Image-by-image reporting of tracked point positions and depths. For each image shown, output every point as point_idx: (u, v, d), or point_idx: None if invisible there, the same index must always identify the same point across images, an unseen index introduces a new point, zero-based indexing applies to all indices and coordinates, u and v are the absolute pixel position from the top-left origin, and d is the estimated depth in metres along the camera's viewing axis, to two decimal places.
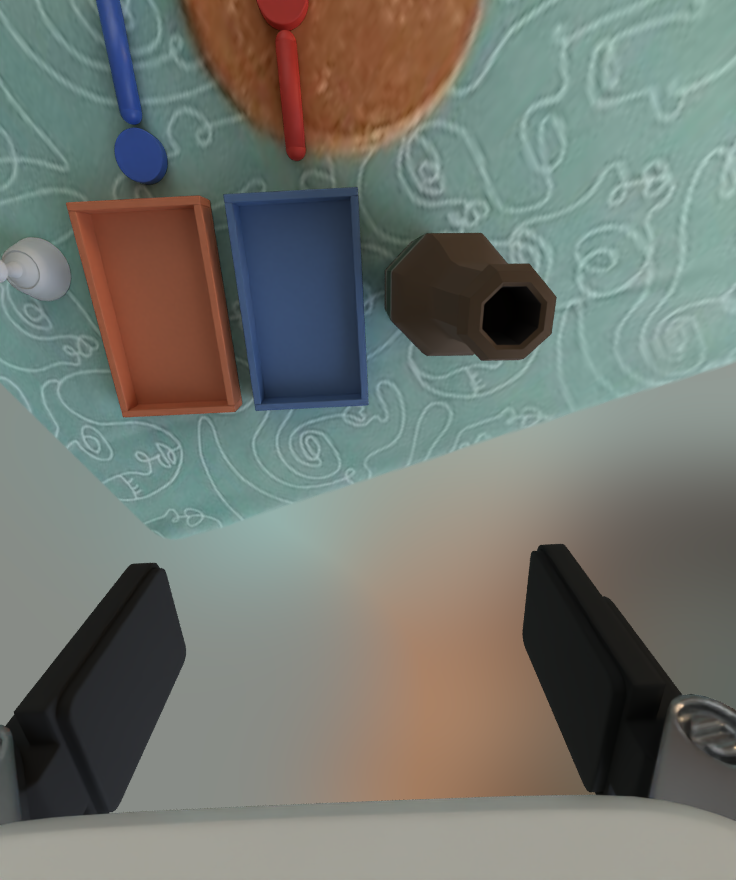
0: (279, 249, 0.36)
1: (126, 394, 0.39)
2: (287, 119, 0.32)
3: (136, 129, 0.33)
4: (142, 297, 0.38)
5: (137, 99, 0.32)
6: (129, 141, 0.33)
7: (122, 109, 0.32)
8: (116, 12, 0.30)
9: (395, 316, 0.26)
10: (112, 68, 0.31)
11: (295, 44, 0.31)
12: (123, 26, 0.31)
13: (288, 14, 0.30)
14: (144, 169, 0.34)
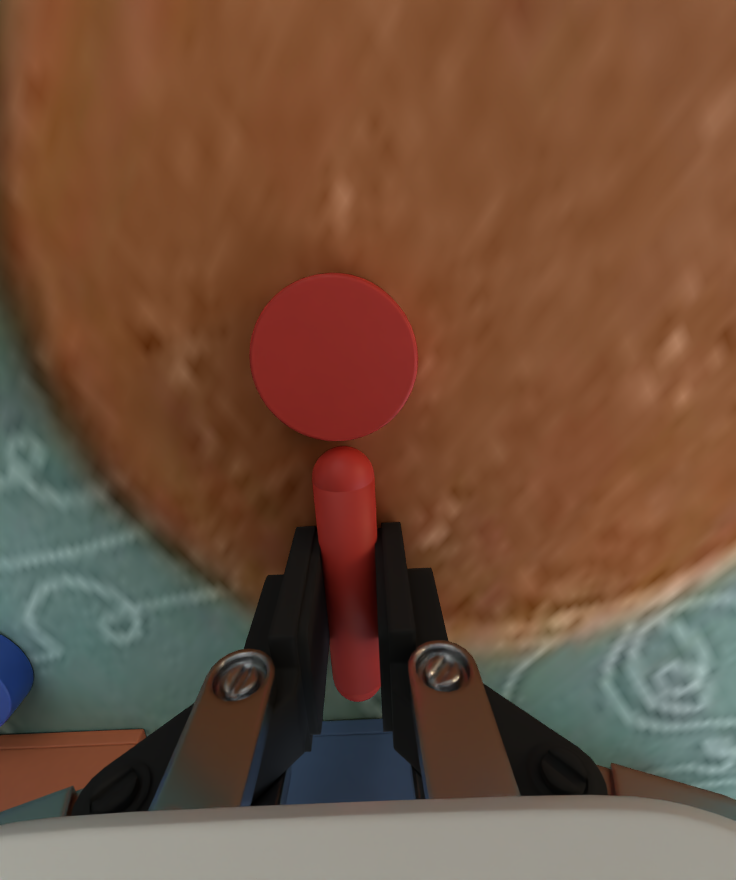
0: None
1: None
2: (341, 644, 0.12)
3: None
4: None
5: None
6: None
7: None
8: None
9: None
10: None
11: (372, 486, 0.10)
12: None
13: (354, 420, 0.10)
14: None
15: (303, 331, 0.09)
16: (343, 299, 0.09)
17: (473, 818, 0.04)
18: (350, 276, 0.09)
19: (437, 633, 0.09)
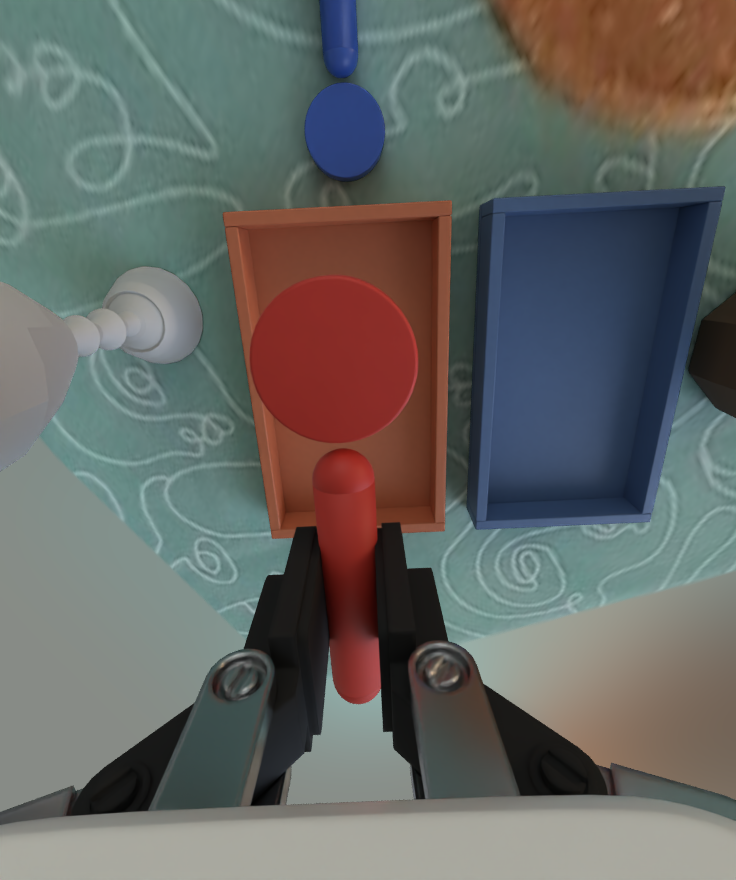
0: (545, 287, 0.23)
1: (279, 505, 0.25)
2: (341, 646, 0.12)
3: (348, 85, 0.19)
4: None
5: (356, 31, 0.18)
6: (333, 107, 0.19)
7: (332, 48, 0.18)
8: None
9: None
10: None
11: (372, 488, 0.10)
12: None
13: (354, 422, 0.10)
14: (351, 155, 0.20)
15: (303, 334, 0.09)
16: (344, 302, 0.09)
17: (473, 818, 0.04)
18: (350, 278, 0.09)
19: (437, 633, 0.09)
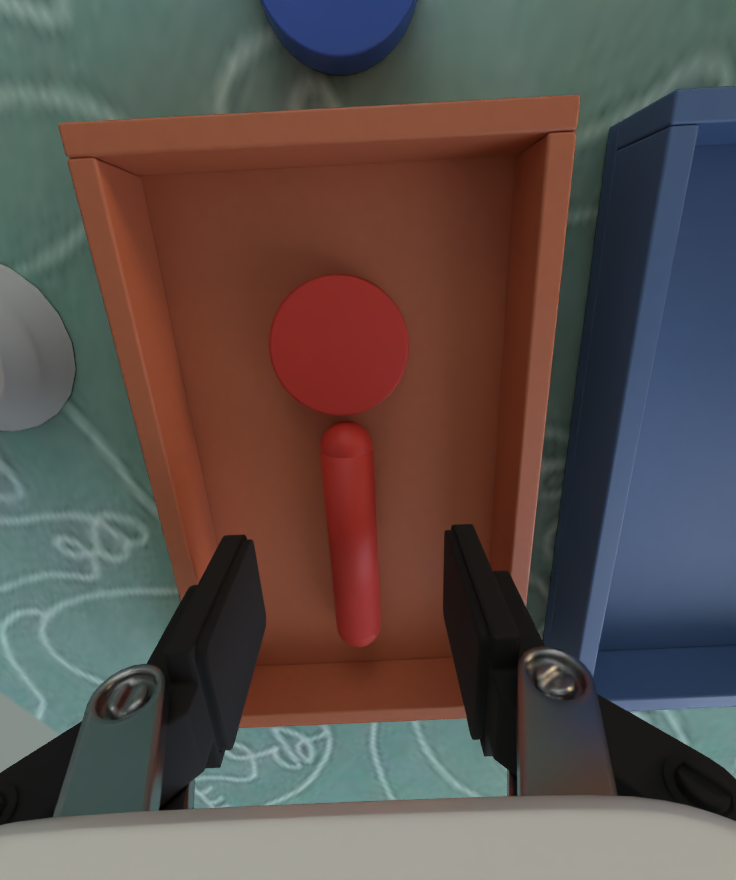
0: (724, 291, 0.12)
1: None
2: (344, 594, 0.14)
3: None
4: (283, 424, 0.13)
5: None
6: None
7: None
8: None
9: None
10: None
11: (371, 454, 0.12)
12: None
13: (355, 397, 0.12)
14: (351, 3, 0.09)
15: (314, 323, 0.11)
16: (347, 296, 0.11)
17: (473, 818, 0.04)
18: (353, 276, 0.11)
19: (531, 638, 0.09)
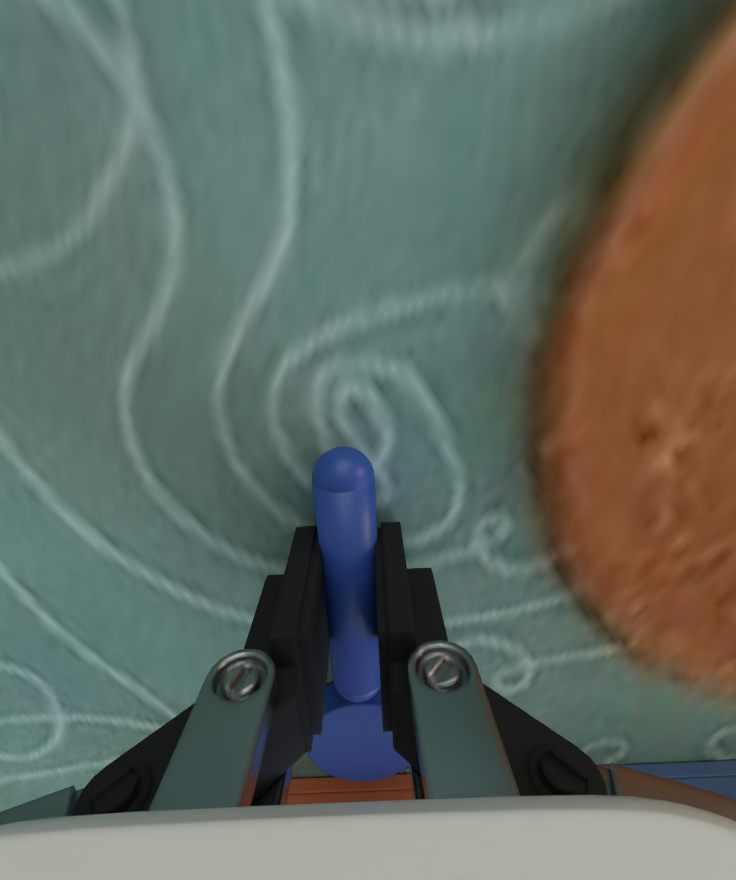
0: None
1: None
2: None
3: (368, 707, 0.13)
4: None
5: None
6: (346, 725, 0.13)
7: (347, 694, 0.12)
8: (370, 515, 0.10)
9: None
10: (337, 625, 0.11)
11: None
12: (376, 529, 0.11)
13: None
14: (372, 764, 0.14)
15: None
16: None
17: (473, 818, 0.04)
18: None
19: (437, 633, 0.09)
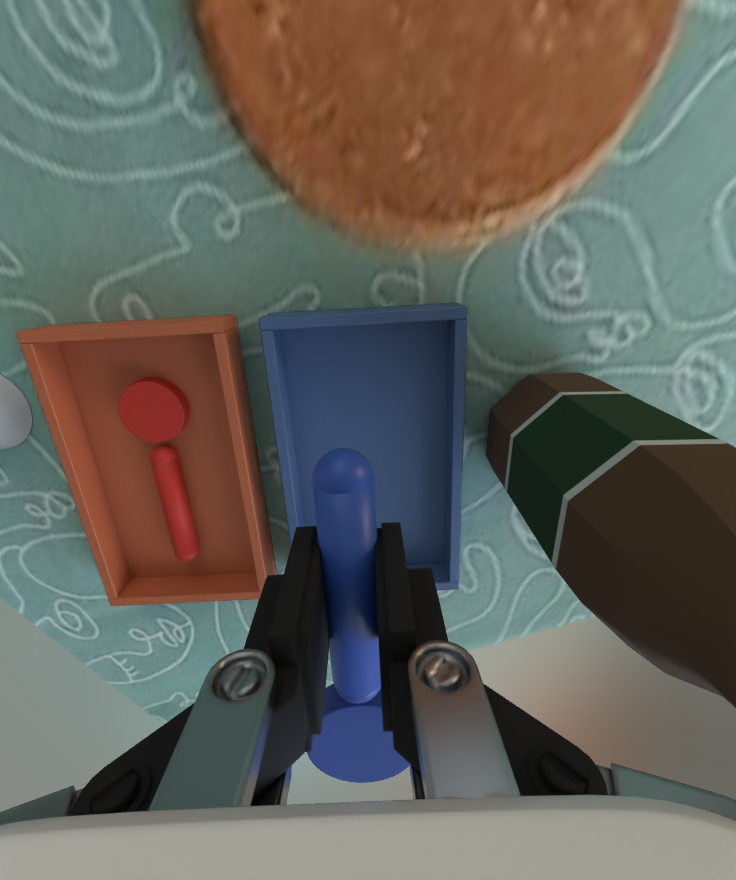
0: (337, 383, 0.25)
1: (115, 576, 0.28)
2: (171, 531, 0.27)
3: (368, 708, 0.13)
4: (136, 446, 0.26)
5: None
6: (346, 726, 0.13)
7: (347, 695, 0.12)
8: (370, 516, 0.10)
9: (584, 594, 0.15)
10: (337, 626, 0.11)
11: (174, 461, 0.25)
12: (376, 531, 0.11)
13: (162, 434, 0.25)
14: (372, 765, 0.14)
15: (137, 401, 0.24)
16: (150, 390, 0.24)
17: (473, 818, 0.04)
18: (152, 381, 0.24)
19: (437, 633, 0.09)
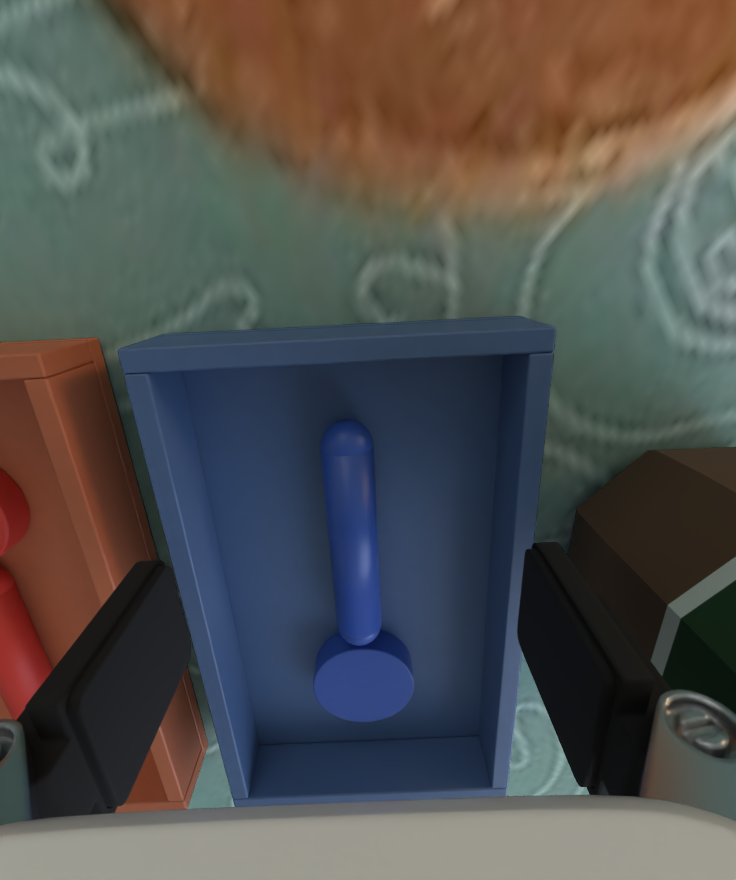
0: (295, 462, 0.13)
1: None
2: (10, 710, 0.15)
3: (368, 652, 0.15)
4: None
5: (380, 607, 0.14)
6: (349, 668, 0.15)
7: (350, 637, 0.14)
8: (370, 476, 0.12)
9: None
10: (341, 574, 0.13)
11: (2, 598, 0.14)
12: (375, 491, 0.13)
13: None
14: (371, 705, 0.16)
15: None
16: None
17: (473, 818, 0.04)
18: None
19: None
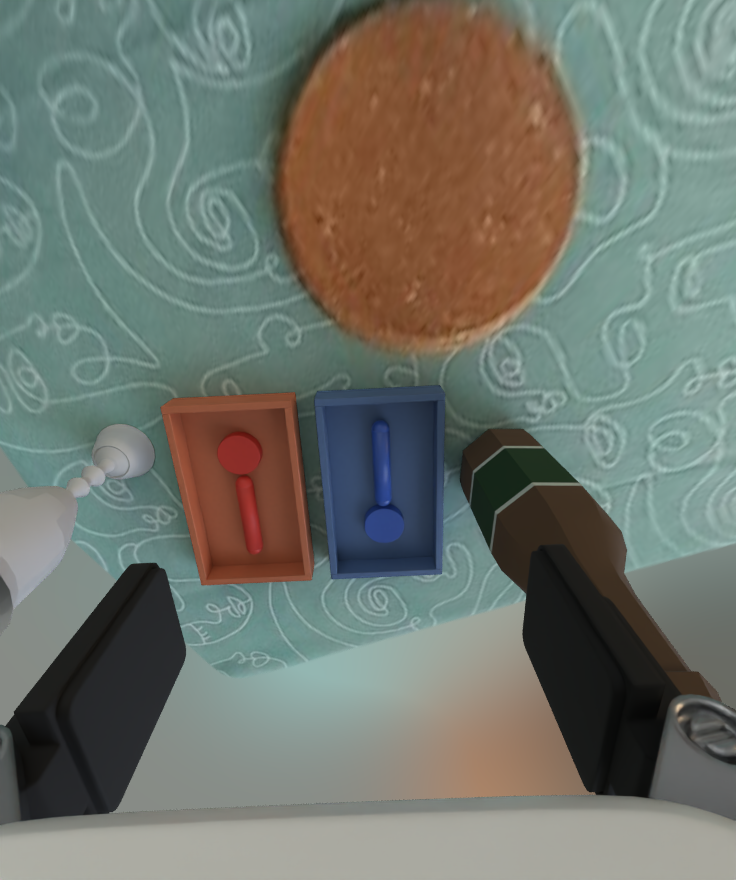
0: (361, 435, 0.37)
1: (205, 564, 0.40)
2: (246, 533, 0.39)
3: (386, 510, 0.39)
4: (224, 475, 0.38)
5: None
6: (378, 517, 0.39)
7: (380, 501, 0.38)
8: (388, 440, 0.36)
9: (503, 565, 0.27)
10: (377, 476, 0.37)
11: (251, 486, 0.38)
12: None
13: (245, 469, 0.37)
14: (387, 534, 0.40)
15: (230, 448, 0.36)
16: (239, 441, 0.36)
17: (473, 819, 0.04)
18: (241, 435, 0.36)
19: None
